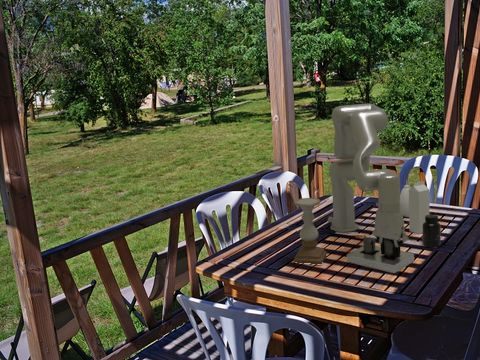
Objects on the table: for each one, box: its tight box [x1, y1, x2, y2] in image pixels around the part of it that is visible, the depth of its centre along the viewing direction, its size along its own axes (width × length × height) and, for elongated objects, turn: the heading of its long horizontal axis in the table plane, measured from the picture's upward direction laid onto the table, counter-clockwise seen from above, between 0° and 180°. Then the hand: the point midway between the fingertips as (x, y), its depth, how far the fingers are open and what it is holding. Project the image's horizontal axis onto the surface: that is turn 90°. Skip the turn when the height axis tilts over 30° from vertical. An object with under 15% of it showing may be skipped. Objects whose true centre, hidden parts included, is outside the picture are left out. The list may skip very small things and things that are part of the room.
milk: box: [408, 180, 430, 235], centre depth 226 cm, size 6×6×22 cm
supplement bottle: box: [422, 214, 442, 248], centre depth 209 cm, size 7×7×12 cm
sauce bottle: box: [400, 180, 411, 218], centre depth 248 cm, size 8×8×18 cm
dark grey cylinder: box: [384, 238, 397, 260], centre depth 193 cm, size 4×4×8 cm
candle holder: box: [293, 197, 328, 265], centre depth 203 cm, size 11×11×24 cm
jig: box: [346, 237, 415, 274], centre depth 197 cm, size 20×14×8 cm
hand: (390, 254), depth 194 cm, fingers closed on dark grey cylinder, 4 cm apart
